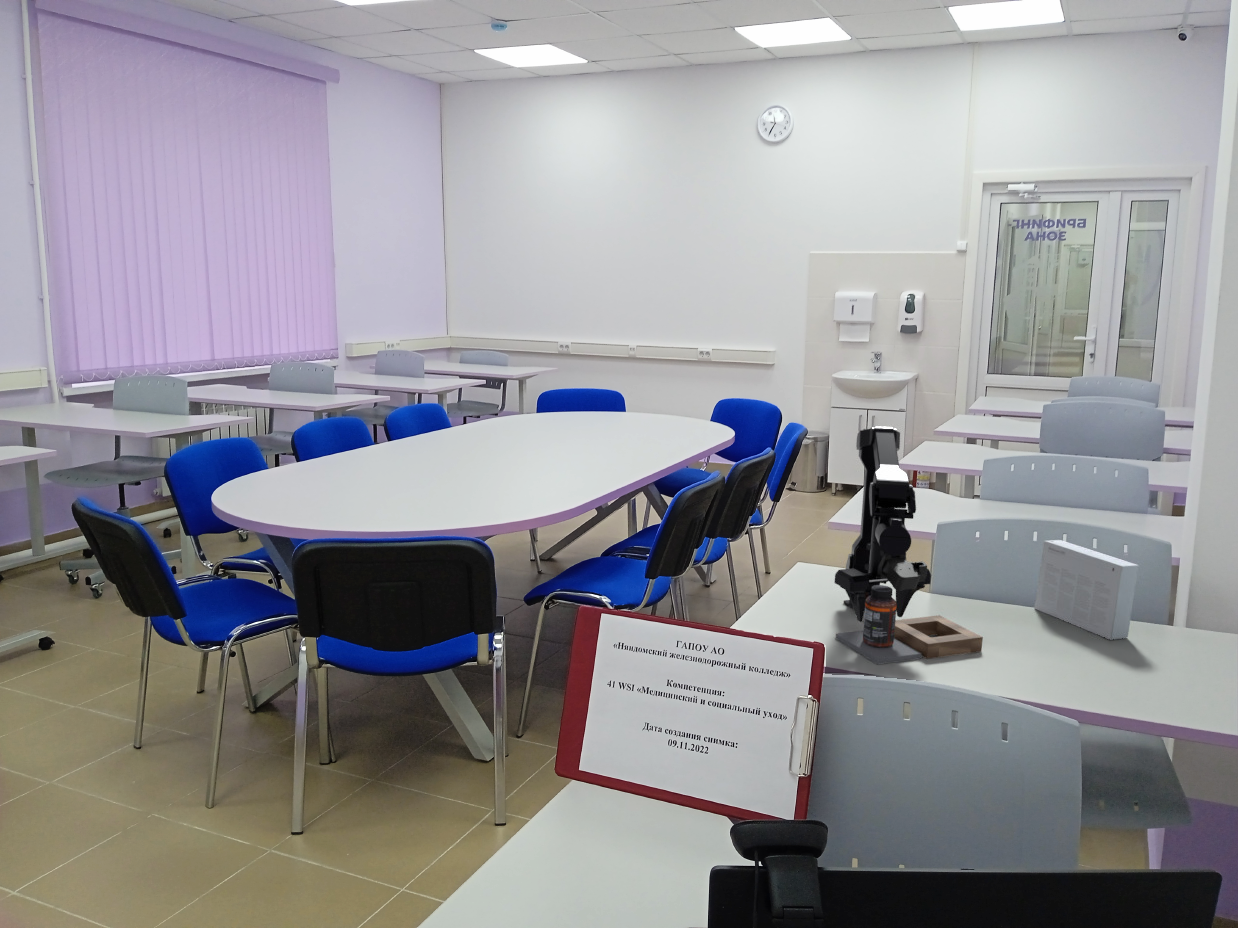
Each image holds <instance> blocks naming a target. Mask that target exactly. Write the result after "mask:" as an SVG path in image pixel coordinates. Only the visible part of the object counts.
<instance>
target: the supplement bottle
mask: <svg viewBox="0 0 1238 928" xmlns="http://www.w3.org/2000/svg"><path fill="white" fill-rule="evenodd" d="M896 606H897V605H896V599H894V598H893V587H891V586H888V585H885V584H884V585H883V584H880V585H875V586H872V588H871V596H869V597H867V599H866V601H865V611H864V615H863V627H862V628H863V629H862V630H863V641H864V642H865V643H866V644H868V645H870V646H874V647H882V648H883V647H889V646H891V645H892V644H893V642H894V633H895V620H897V618H896V617H897V612H896Z"/></svg>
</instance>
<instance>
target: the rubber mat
mask: <svg viewBox="0 0 1238 928" xmlns="http://www.w3.org/2000/svg"><path fill="white" fill-rule="evenodd" d="M835 639H836V640H838V641H839V642H841V643H843V644H844V645H845V646H847V647H849V648H850V649H853V650H854V651H856V653H858V654H860V655H862V656H864V657H865V658H866V659H868V660H870V661H871V662H873V663H875V664H876V665H882V664H883V665H884V664H890V663H896V662H897V663H898V662H905V661H910V660H918V659H922V656H921V653H920V652H918V651H916V650H914V649H913V648H911V647H909V646H907V645H906V644H904V643H902V642H900V641H899V640H897V639H895V638H894V642H893V644H892V645H891V646H889V647H883V648H882V647H874V646H870V645H868V644H866V643H865V642H864V641H863V629H862V630H861V629H860V630H854V631H846V632H845V631H844V632H838V633H837V632H836V633H835Z"/></svg>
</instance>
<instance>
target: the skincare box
mask: <svg viewBox="0 0 1238 928" xmlns="http://www.w3.org/2000/svg"><path fill="white" fill-rule="evenodd" d="M1042 543H1043V545H1042V553H1041V561H1040V566H1039V571H1038V580H1037V589H1036V590H1037V591H1036V594H1035V600H1034V601H1035V603H1034V609H1035V610H1037V611H1040V612H1041V613H1044V614H1047V615H1049V616H1052V617H1054V618H1055V619H1058V618H1059V619H1058V620H1061V621H1063V620H1064V621H1063V622H1066V623H1068V622H1069V623H1068V624H1070V623H1071V625H1073V626H1075V625H1076V627H1077V628H1078V627H1079V628H1080V627H1081V629H1083V630H1085V631H1088V632H1090V633H1092V634H1094V635H1097V634H1098V635H1097V636H1099V635H1100V637H1102V638H1104V637H1105V638H1104V639H1107V640H1109V639H1110V640H1109V641H1113V639H1114V640H1120V639H1122V638H1123V639H1127V638H1126V637H1129V631H1130V624H1131V618H1132V611H1133V606H1134V600H1135V599H1134V597H1135V593H1136V587H1137V579H1138V573H1139V567H1140V565H1139V564H1136V563H1133V562H1130V561H1127V560H1123V559H1120V558H1117V557H1115V556H1111V555H1108V554H1105V553H1102V552H1099V551H1096V550H1092V549H1089V548H1086V547H1083V546H1080V545H1078V544H1074V543H1071V542H1068V541H1065V540H1061V539H1056V540H1055V539H1053V540H1052V539H1051V540H1050V539H1049V540H1043V542H1042Z"/></svg>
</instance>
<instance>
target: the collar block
mask: <svg viewBox="0 0 1238 928" xmlns="http://www.w3.org/2000/svg"><path fill="white" fill-rule="evenodd" d="M935 635H936V636H935ZM930 636H932V637H930ZM933 636H934V637H933ZM894 638H895V639H897V640H899V641H900V642H902V643H904V644H906V645H907V646H909V647H911V648H913V649H914V650H916V651H918V652H920V653H921V657H923V658H925V659H928V660H929V659H936V658H944V657H951V656H957V655H958V656H959V655H966V654H973V653H974V654H975V653H980V652H982V649H983V648H982V647H983V641H984V640H983V639H984V637H983V636H981V635H980V634H977V633H976V632H973V631H972V630H970V629H967V628H966V627H963V626H962V625H959V624H957V623H956V622H954V621H951V620H950V619H948V618H945V617H943V616H942V615H940V614H939V615H938V614H937V615H930V616H922V617H920V616H919V617H913V618H912V617H911V618H903V619H895V633H894Z"/></svg>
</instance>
